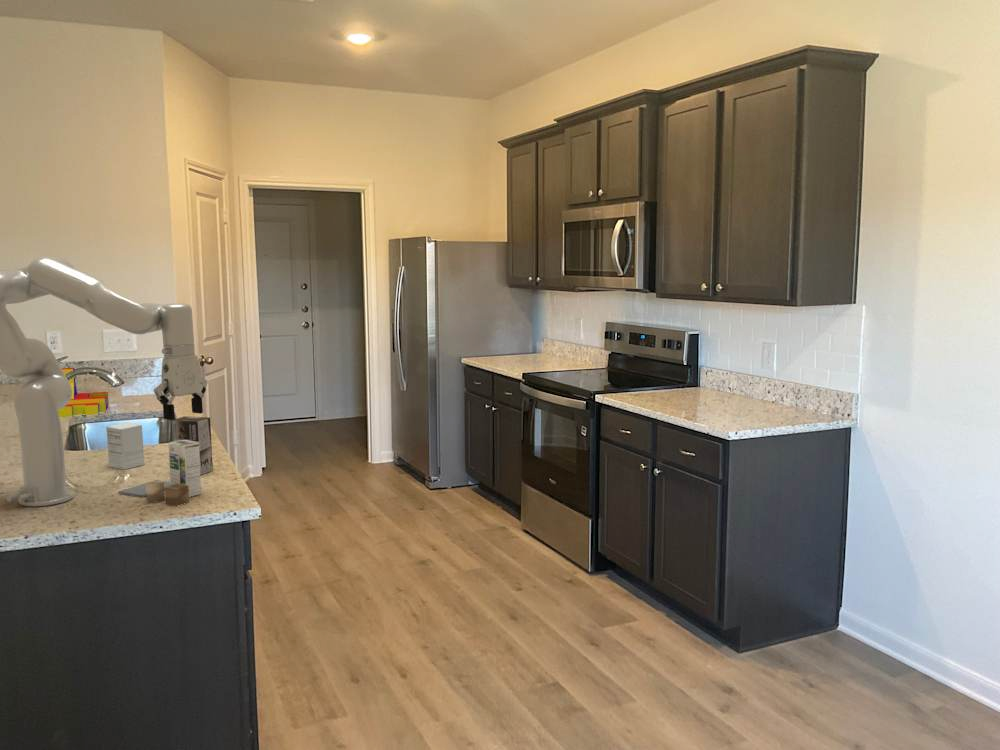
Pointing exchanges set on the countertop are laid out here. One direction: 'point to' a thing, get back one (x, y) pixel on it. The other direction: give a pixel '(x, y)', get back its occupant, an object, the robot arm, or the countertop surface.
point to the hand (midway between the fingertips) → (183, 416)
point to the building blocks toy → (83, 401)
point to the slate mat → (140, 489)
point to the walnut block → (176, 494)
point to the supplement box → (125, 445)
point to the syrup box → (185, 465)
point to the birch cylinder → (155, 491)
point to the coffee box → (196, 437)
